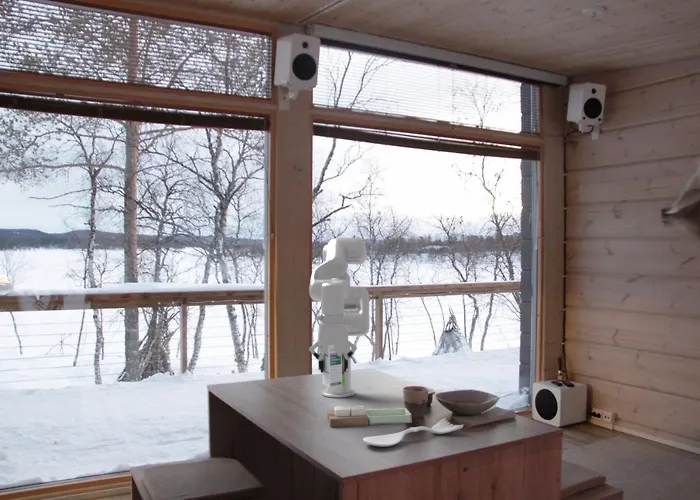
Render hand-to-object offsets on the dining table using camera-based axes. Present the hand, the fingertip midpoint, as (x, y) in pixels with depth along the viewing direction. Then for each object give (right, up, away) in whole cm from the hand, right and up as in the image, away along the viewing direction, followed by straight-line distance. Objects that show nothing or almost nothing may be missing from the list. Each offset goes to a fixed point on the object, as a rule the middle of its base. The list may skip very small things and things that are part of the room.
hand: (333, 371), depth 213 cm
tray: (+18, -14, -9) cm, 25 cm away
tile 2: (+8, -12, -10) cm, 17 cm away
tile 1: (+3, -12, -11) cm, 16 cm away
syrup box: (0, -5, 0) cm, 5 cm away
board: (+5, -14, -10) cm, 18 cm away
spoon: (+24, -15, -29) cm, 40 cm away
